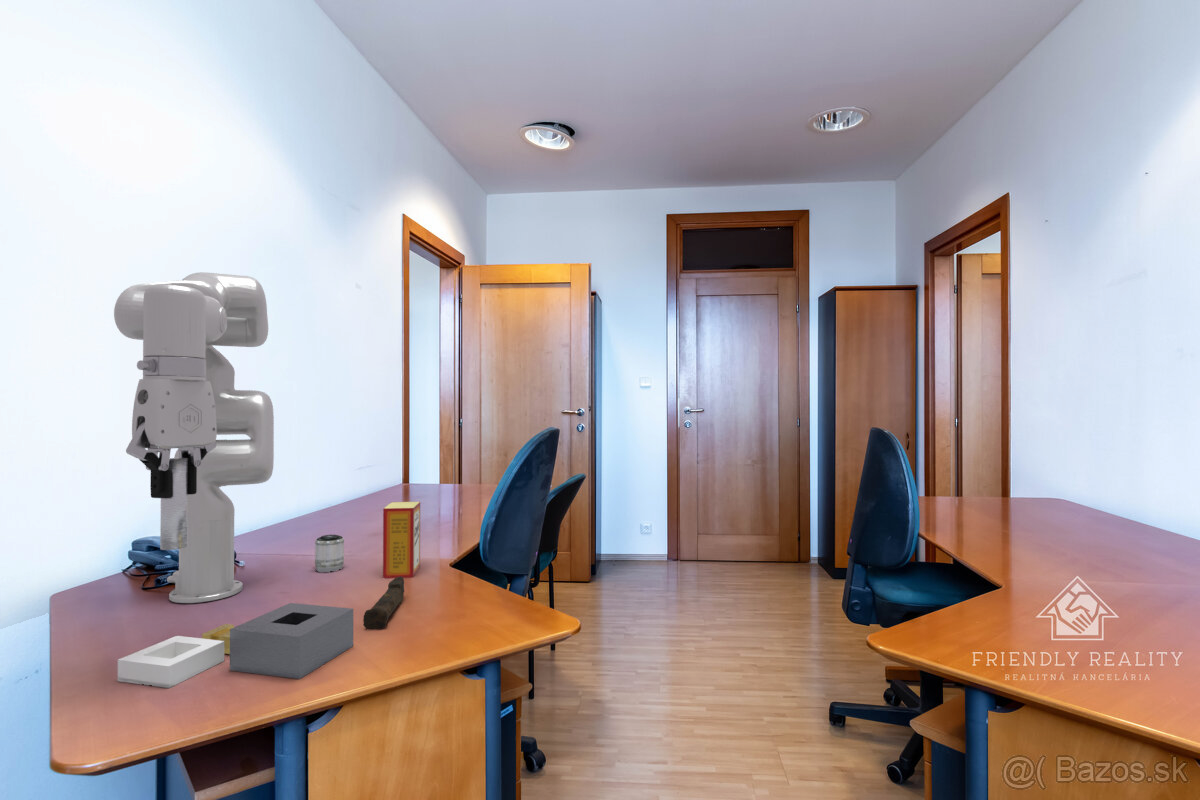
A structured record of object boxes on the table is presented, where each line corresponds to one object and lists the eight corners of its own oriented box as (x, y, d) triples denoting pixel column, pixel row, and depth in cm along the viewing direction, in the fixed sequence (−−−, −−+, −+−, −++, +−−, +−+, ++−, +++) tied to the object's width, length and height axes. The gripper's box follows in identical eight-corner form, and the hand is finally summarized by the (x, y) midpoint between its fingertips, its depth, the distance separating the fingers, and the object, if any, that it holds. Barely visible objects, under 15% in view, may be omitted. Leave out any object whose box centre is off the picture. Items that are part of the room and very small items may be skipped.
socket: (229, 670, 87) (229, 629, 87) (290, 639, 99) (290, 602, 99) (299, 679, 84) (299, 636, 85) (353, 645, 96) (353, 608, 96)
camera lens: (326, 574, 137) (326, 540, 137) (309, 570, 140) (309, 537, 140) (349, 568, 142) (349, 535, 142) (332, 564, 145) (332, 532, 145)
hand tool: (385, 631, 103) (386, 604, 103) (362, 631, 103) (362, 604, 103) (415, 596, 122) (415, 574, 122) (395, 596, 122) (395, 574, 122)
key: (201, 653, 93) (202, 633, 93) (225, 642, 97) (225, 623, 97) (269, 661, 90) (269, 641, 90) (291, 649, 94) (291, 630, 94)
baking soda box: (392, 567, 143) (392, 500, 143) (420, 566, 144) (420, 499, 144) (383, 578, 134) (383, 507, 134) (413, 577, 135) (413, 506, 135)
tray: (117, 681, 84) (117, 659, 84) (176, 655, 93) (176, 635, 93) (168, 688, 82) (169, 666, 82) (224, 660, 91) (224, 641, 91)
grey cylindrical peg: (154, 549, 86) (155, 459, 86) (175, 544, 89) (175, 457, 89) (172, 550, 85) (173, 459, 85) (192, 545, 88) (193, 458, 89)
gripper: (140, 366, 79) (139, 506, 78) (241, 373, 95) (241, 489, 94) (96, 367, 80) (95, 503, 80) (203, 374, 96) (202, 487, 96)
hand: (174, 494), depth 87 cm, fingers closed on grey cylindrical peg, 3 cm apart
